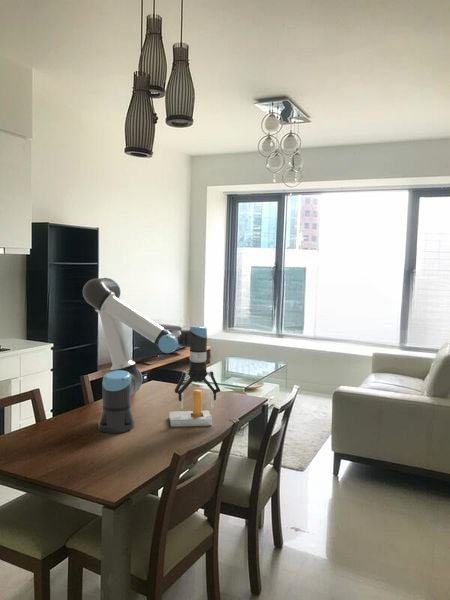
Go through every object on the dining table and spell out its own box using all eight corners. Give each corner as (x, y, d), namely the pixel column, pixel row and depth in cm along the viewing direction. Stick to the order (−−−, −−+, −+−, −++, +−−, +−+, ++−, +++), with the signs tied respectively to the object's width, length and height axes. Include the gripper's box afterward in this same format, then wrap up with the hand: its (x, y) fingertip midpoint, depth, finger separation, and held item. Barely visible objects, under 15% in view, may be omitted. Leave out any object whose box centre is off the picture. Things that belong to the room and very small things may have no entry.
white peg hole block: (170, 426, 206) (170, 419, 206) (169, 417, 218) (169, 411, 218) (212, 425, 209) (212, 418, 209) (208, 416, 221) (208, 410, 221)
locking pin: (192, 423, 212) (193, 392, 211) (192, 420, 215) (192, 389, 215) (201, 422, 212) (202, 391, 211) (200, 419, 216) (201, 389, 215)
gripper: (170, 362, 206) (169, 410, 208) (227, 362, 210) (226, 409, 212) (169, 359, 214) (168, 405, 215) (224, 358, 218) (223, 404, 219)
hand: (197, 407), depth 214 cm, fingers open, 13 cm apart
